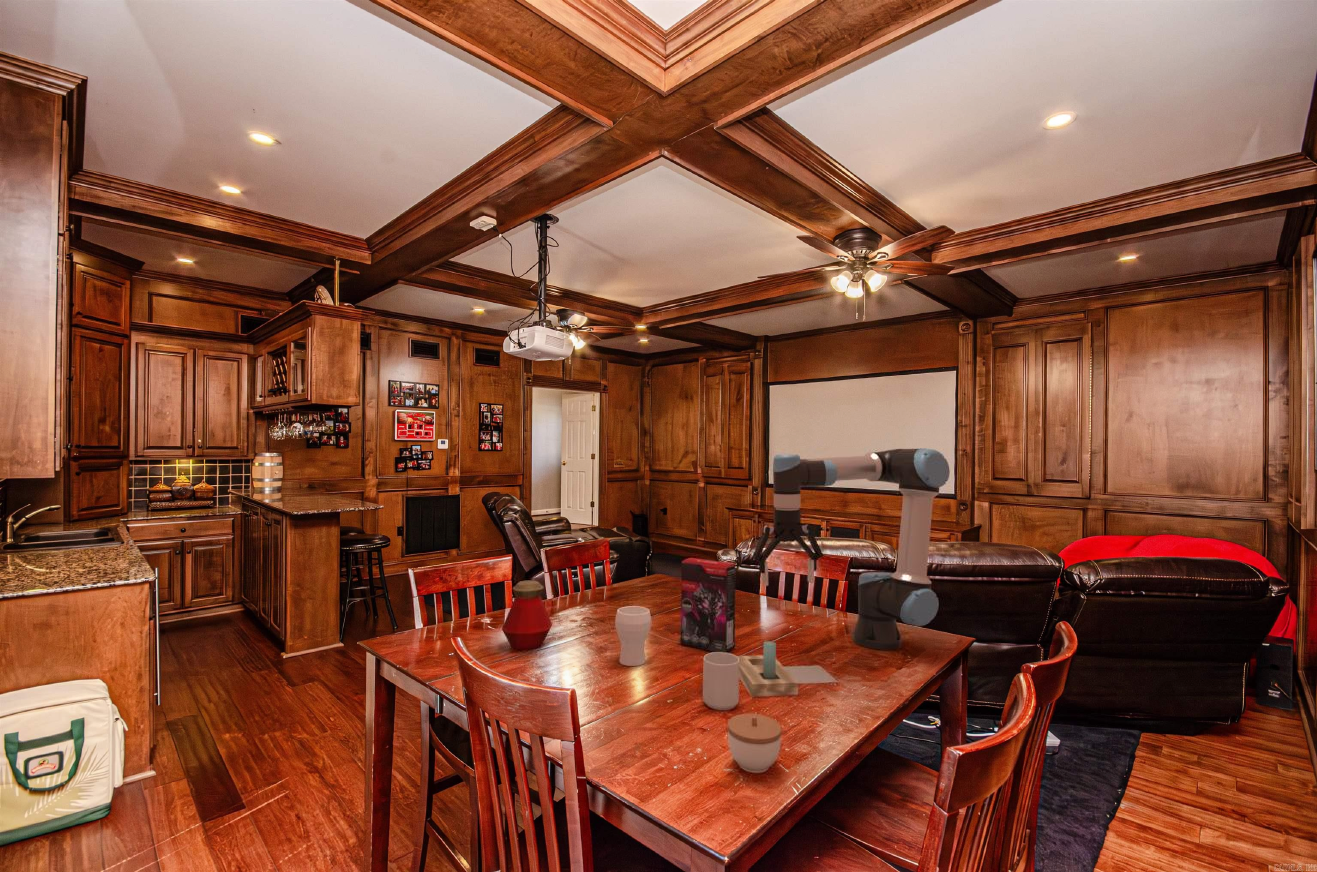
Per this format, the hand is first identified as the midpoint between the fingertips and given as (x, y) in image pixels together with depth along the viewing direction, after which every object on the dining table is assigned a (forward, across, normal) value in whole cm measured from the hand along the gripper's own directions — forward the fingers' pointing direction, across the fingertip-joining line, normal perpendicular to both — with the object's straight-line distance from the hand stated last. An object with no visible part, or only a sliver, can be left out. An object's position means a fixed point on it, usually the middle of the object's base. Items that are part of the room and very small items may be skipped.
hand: (788, 583), depth 163 cm
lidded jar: (+24, +25, +44) cm, 57 cm away
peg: (+25, +10, +10) cm, 29 cm away
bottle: (+24, +75, -31) cm, 84 cm away
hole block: (+25, +10, +5) cm, 27 cm away
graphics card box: (+25, +18, -24) cm, 39 cm away
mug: (+25, +24, +15) cm, 38 cm away
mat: (+26, -5, +2) cm, 26 cm away
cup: (+24, +43, -14) cm, 51 cm away
